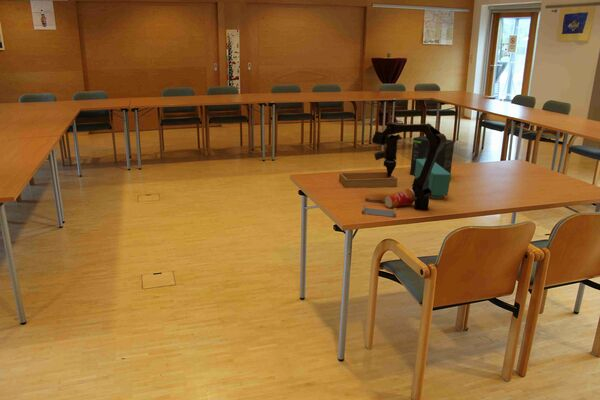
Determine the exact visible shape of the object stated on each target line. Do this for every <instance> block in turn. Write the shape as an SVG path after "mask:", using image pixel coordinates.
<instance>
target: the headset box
mask: <svg viewBox="0 0 600 400" xmlns="http://www.w3.org/2000/svg"><path fill="white" fill-rule="evenodd" d="M429 142H430V141H429V140H428V139H427V138H426V136H425V135H420V136H417V137H413V139H412V149H411V159H410V171H409V175H410V176H414V177H415V169H416V159H426V158H427V155H428V153H429ZM454 146H455V140H451V139H447V141H446V143H445V145H444V146H443V148H442V149H441V150H440V151H439V153H438V155H437V158H436V161H435V162H436V163H437V164H438V165H439V166H441V167H442V168H443V169H445V170H446V171H447V172H449V173H450V174H451V173H452V163H453V154H454ZM451 175H452V174H451Z"/></svg>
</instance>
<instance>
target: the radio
mask: <svg viewBox="0 0 600 400" xmlns="http://www.w3.org/2000/svg"><path fill="white" fill-rule="evenodd" d="M425 161H426V159H416V169H415V176H414V179H415V178H417V177H419V176H420V174H421V171H422V169H423V166H424V163H425ZM451 178H452V174H450V173H449V172H447V171H446V170H445V169H443V168H442V167H441V166H439V165H438V164H437V163H436V162H435V163H434V166H433V168H432V171H431V174H430V176H429V189H430V190H431V192H432V194H431V196H430V198H431V199H438V200H439V199H441V200H443V199H444V197H445V196H448V194H449V188H450V183H451Z"/></svg>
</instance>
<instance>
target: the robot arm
mask: <svg viewBox="0 0 600 400" xmlns="http://www.w3.org/2000/svg"><path fill="white" fill-rule="evenodd" d="M400 133H423V134H424V136H426V138H427V139H428V140H429V141H430V142H429V153H428V155H427V158H426V161H425V163H424V166H423V169H422V171H421V174H420V176H419V177H417V178H415V177H414V179H413V183H412V184H411V186H412V188H411V190H413V192H414V195H415V201H414V205H413V206H414V209H415V210H418V211H420V210H421V211H429V204H430V197H431V194H432V192H431V190H430V189H429V176H430V174H431V171H432V168H433V166H434V163H435V161H436V158H437V155H438V153H439V151H440V150H441V149H442V148H443V146H444V145H445V143H446V141H447V140H448V139H447V137H446V135H445V134H443V133H441V132H440V131H439V130H438V129H437V128H435V127H434V126H433V125H432V124H431V123H416V124H415V123H411V124H410V123H407V124H405V123H402V122H397V121H395V122H391V123H390V122H389V123H388V124H386V126H385V129H384V130H383V131H379V130H376V131H375V132H374V134H373V136H372V139H371V140H372V143H373V144H374V145H380V146H385V145H386V146H385V148H384V150H380V151H377V152H374V153H373V154H374V159H375V161H379V160H381V159H383V160H384V161H383V167H384V168H386V172H387V176H388V177H390V176H391V174H392V175H393V172H394V170H395V168H396V167H397V155H398V141H399V140H402V139H403V137H402V136H401V135H400ZM395 134H396V135H395Z"/></svg>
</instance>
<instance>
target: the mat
mask: <svg viewBox="0 0 600 400" xmlns="http://www.w3.org/2000/svg"><path fill="white" fill-rule="evenodd" d="M366 214H368V215H367V216H376V217H377V216H379V217H388V218H397V208H396V207H393V210H392V209H391V210H390V209H379V208H369V207H367V205H366V204H363V205H362V209H361V215H366Z"/></svg>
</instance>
